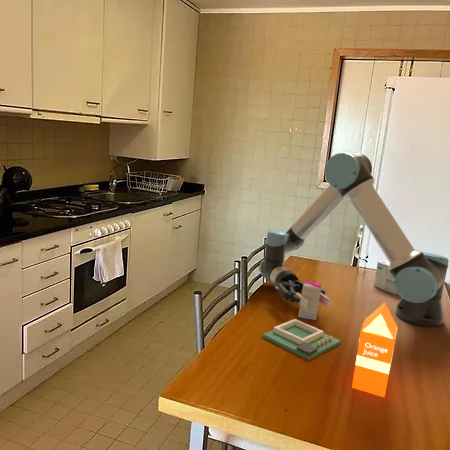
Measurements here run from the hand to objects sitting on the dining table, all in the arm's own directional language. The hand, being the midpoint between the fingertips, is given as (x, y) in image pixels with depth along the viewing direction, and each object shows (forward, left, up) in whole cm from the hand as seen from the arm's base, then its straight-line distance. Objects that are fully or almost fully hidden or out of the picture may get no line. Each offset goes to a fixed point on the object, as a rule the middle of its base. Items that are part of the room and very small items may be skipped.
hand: (317, 304), depth 140 cm
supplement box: (+4, -2, -7) cm, 8 cm away
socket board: (-5, +14, -7) cm, 16 cm away
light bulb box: (+1, -56, -7) cm, 56 cm away
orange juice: (-29, +19, -7) cm, 35 cm away
